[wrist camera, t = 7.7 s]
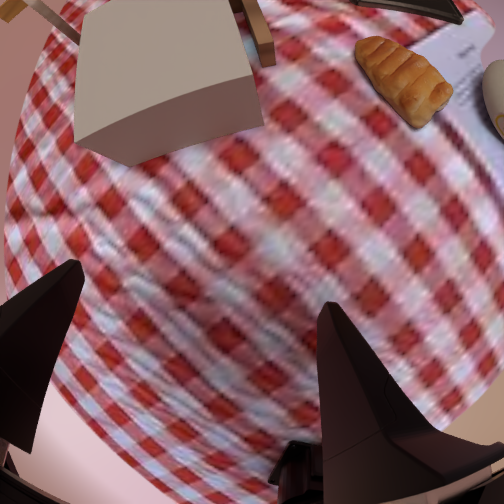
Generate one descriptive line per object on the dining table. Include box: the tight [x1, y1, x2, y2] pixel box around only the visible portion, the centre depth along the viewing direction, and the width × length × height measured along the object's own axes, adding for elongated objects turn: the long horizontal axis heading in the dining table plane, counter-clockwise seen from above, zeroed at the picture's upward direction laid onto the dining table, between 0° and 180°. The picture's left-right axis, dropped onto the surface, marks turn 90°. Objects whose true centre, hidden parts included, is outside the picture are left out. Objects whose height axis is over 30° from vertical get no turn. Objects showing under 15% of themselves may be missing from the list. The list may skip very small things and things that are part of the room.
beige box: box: [74, 0, 264, 167], centre depth 18 cm, size 14×12×8 cm
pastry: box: [355, 36, 453, 128], centre depth 18 cm, size 9×7×4 cm
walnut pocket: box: [0, 0, 276, 67], centre depth 15 cm, size 11×21×15 cm, turn 103°
